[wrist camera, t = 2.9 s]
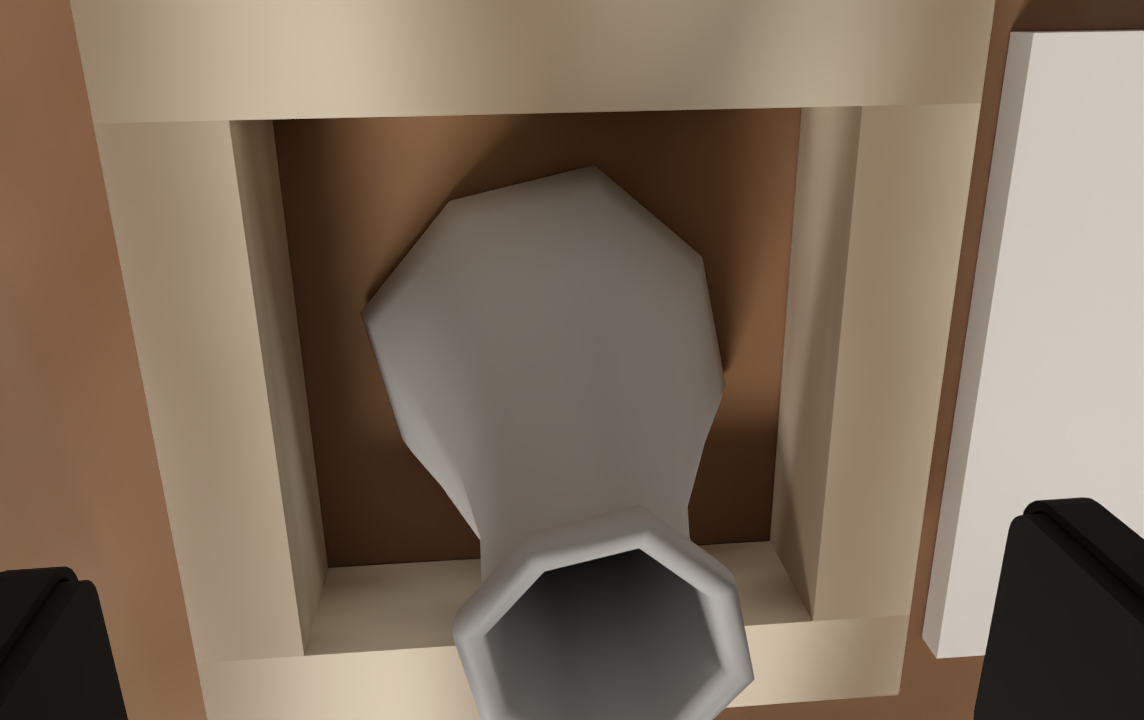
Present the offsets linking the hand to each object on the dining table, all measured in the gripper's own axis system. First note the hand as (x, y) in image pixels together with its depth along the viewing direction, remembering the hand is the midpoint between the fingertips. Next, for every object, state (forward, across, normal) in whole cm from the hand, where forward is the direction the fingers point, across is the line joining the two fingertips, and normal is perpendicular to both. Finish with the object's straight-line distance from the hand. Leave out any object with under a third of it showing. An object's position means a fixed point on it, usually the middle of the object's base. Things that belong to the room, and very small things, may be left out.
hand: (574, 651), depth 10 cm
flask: (+10, -1, 0) cm, 11 cm away
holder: (+10, -1, 0) cm, 10 cm away
